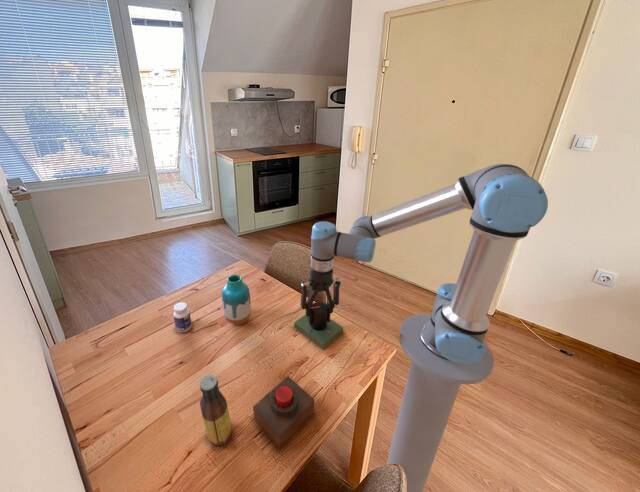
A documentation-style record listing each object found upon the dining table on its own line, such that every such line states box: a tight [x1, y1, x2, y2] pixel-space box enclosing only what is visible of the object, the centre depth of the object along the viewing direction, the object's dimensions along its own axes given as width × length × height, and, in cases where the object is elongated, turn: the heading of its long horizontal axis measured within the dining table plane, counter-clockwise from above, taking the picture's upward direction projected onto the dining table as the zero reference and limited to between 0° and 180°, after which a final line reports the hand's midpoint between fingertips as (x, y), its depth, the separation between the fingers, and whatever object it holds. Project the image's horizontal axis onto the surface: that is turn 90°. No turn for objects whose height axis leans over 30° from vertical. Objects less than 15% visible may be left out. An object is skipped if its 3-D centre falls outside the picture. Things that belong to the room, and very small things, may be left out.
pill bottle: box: [172, 301, 192, 333], centre depth 108 cm, size 6×6×10 cm
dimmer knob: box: [311, 301, 328, 331], centre depth 105 cm, size 6×6×8 cm
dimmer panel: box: [293, 313, 344, 350], centre depth 108 cm, size 14×11×3 cm
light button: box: [276, 386, 292, 407], centre depth 76 cm, size 4×4×2 cm
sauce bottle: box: [199, 374, 232, 446], centre depth 72 cm, size 6×6×20 cm
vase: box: [221, 274, 252, 325], centre depth 110 cm, size 11×11×19 cm
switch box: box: [252, 375, 315, 450], centre depth 78 cm, size 13×10×8 cm
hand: (318, 320), depth 106 cm, fingers closed on dimmer knob, 6 cm apart
